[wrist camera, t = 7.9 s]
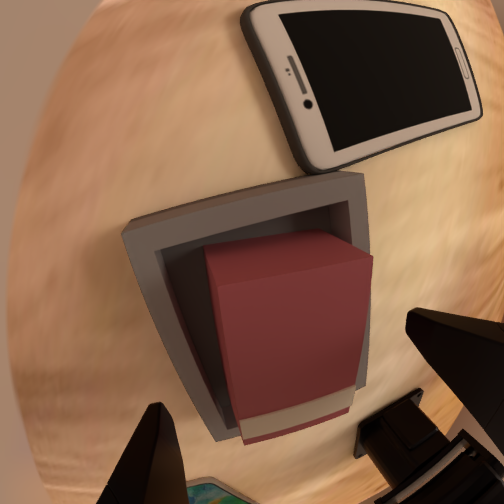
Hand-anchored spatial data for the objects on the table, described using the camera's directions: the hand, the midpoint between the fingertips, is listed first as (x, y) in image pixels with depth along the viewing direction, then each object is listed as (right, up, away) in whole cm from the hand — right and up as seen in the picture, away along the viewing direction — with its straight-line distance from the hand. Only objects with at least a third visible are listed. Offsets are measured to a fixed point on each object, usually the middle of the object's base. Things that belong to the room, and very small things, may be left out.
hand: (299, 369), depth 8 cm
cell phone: (+6, +13, +2) cm, 14 cm away
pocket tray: (-1, +1, +4) cm, 4 cm away
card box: (-1, +1, +3) cm, 3 cm away
